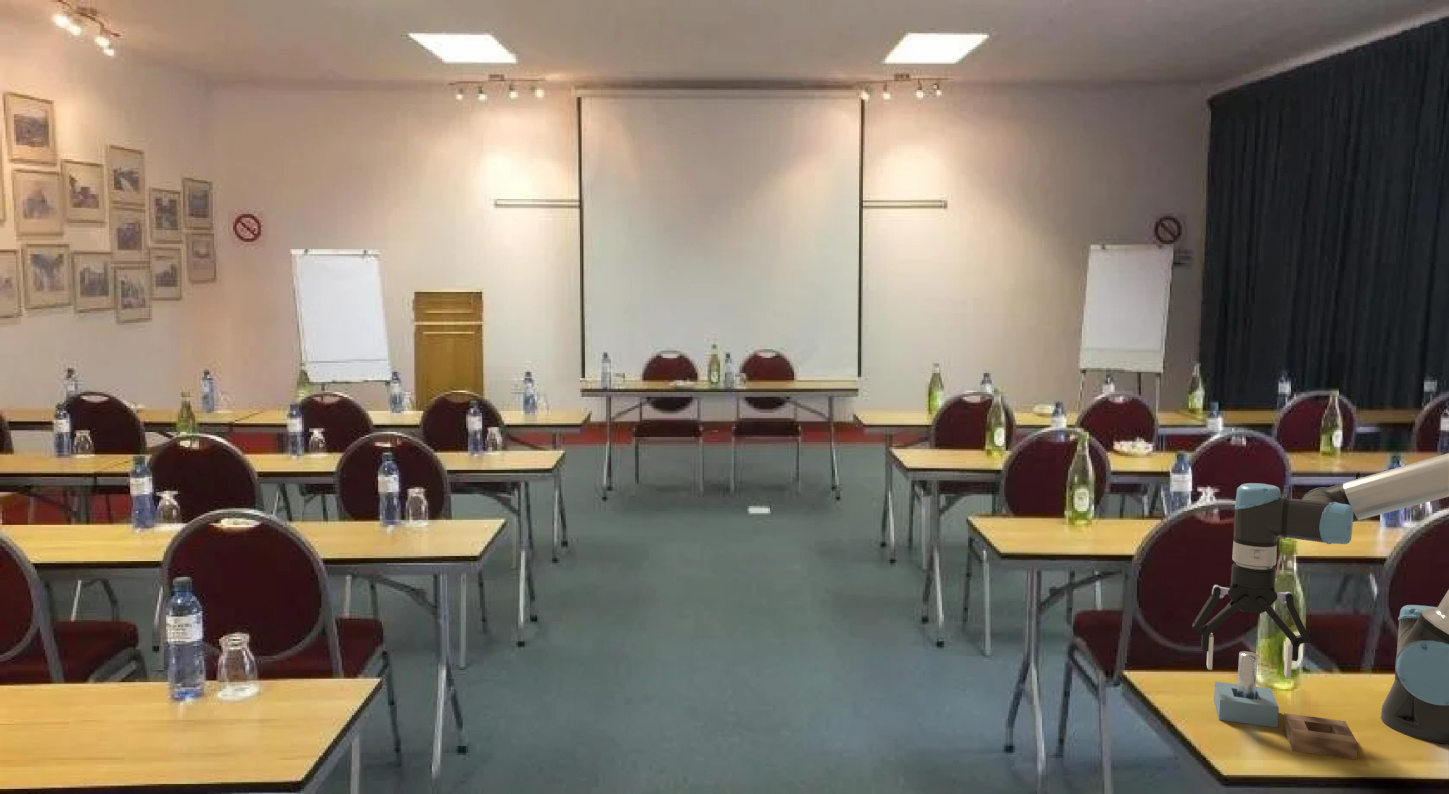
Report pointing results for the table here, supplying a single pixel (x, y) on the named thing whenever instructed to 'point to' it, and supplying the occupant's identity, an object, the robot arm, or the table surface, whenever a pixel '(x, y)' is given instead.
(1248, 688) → the pin
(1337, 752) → the block
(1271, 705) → the docking socket
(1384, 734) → the table surface
